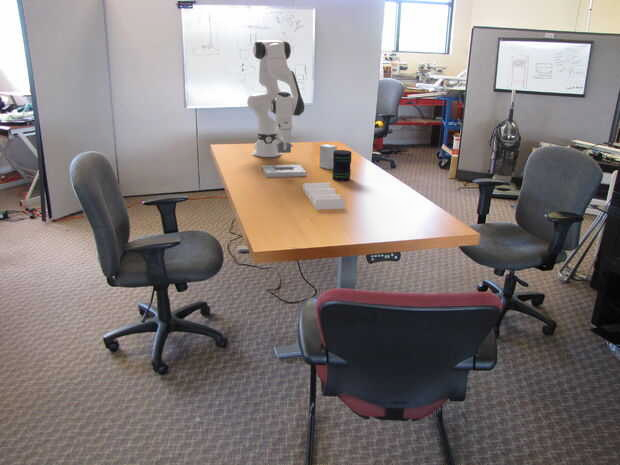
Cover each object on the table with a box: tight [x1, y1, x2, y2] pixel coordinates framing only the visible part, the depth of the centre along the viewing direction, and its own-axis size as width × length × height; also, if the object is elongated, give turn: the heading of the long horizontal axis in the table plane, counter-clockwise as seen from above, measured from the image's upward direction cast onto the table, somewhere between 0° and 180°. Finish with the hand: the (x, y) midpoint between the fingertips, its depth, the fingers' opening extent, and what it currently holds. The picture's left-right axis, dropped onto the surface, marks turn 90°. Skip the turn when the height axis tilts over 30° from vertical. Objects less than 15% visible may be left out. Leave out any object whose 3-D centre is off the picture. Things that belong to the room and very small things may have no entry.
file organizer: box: [302, 182, 346, 211], centre depth 244 cm, size 13×35×5 cm, turn 11°
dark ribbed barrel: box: [331, 149, 352, 182], centre depth 276 cm, size 10×10×15 cm
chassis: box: [261, 164, 307, 178], centre depth 288 cm, size 18×22×2 cm
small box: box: [319, 143, 338, 170], centre depth 301 cm, size 8×6×13 cm
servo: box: [275, 141, 294, 154], centre depth 283 cm, size 4×10×6 cm, turn 102°
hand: (283, 148), depth 283 cm, fingers closed on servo, 4 cm apart
